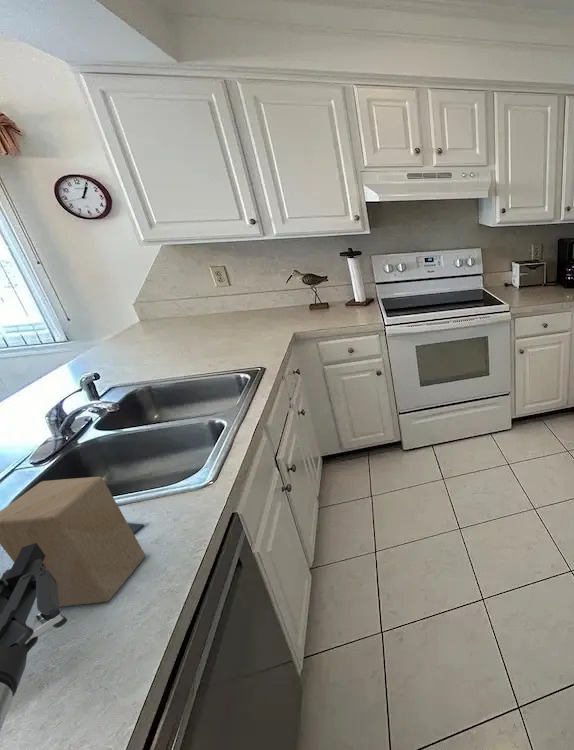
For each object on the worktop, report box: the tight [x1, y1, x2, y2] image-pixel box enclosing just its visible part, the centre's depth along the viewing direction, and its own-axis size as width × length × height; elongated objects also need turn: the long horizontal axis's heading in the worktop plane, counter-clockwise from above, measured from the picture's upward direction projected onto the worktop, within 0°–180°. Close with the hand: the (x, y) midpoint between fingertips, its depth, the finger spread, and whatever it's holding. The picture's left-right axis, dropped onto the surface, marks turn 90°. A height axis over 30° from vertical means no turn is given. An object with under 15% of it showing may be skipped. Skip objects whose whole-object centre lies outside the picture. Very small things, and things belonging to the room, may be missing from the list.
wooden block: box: [0, 476, 146, 608], centre depth 72 cm, size 10×10×20 cm
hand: (34, 551), depth 60 cm, fingers closed
